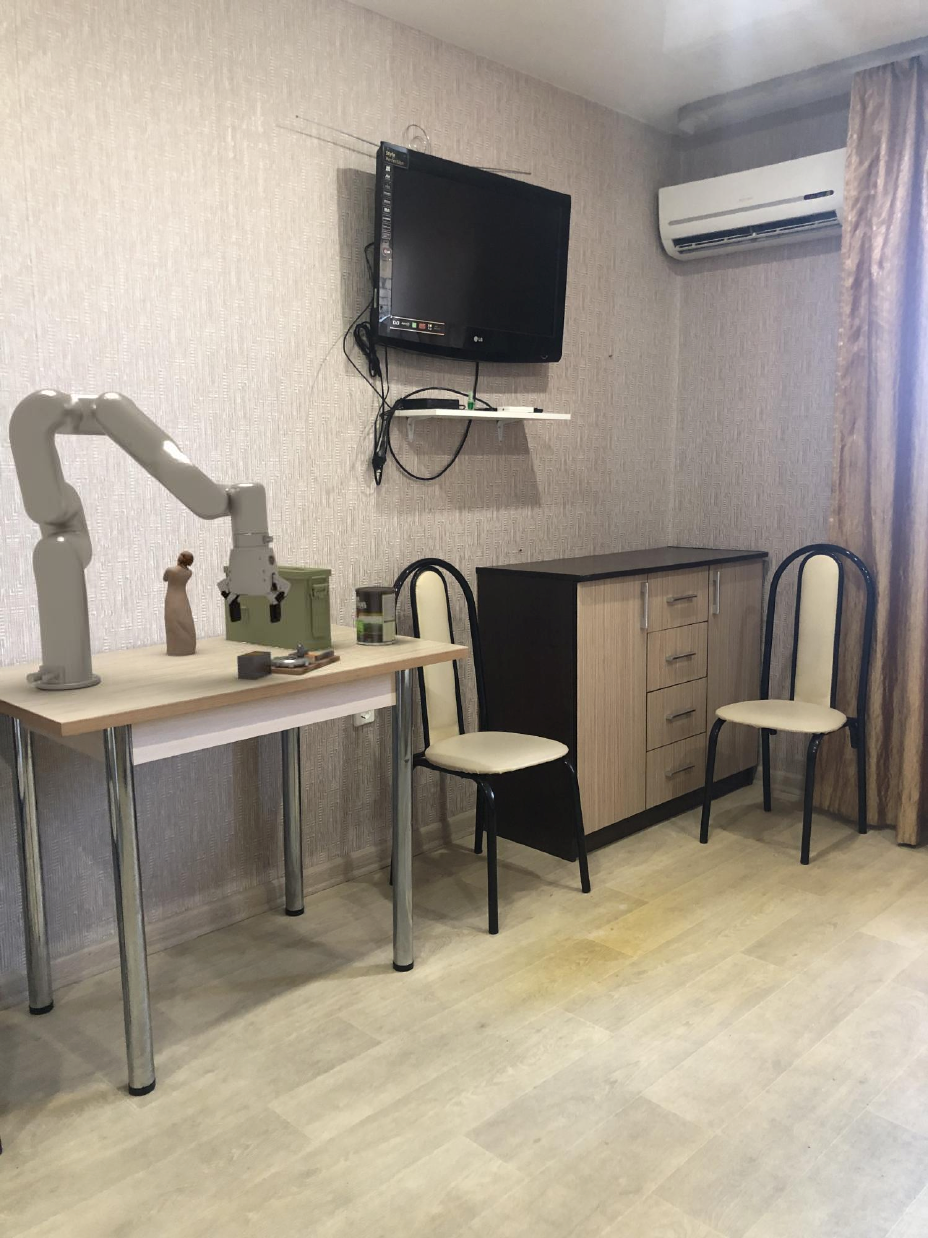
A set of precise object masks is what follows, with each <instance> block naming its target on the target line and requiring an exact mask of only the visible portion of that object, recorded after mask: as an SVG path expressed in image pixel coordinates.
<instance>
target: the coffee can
mask: <svg viewBox="0 0 928 1238" xmlns="http://www.w3.org/2000/svg"><path fill="white" fill-rule="evenodd" d="M354 592H355V614H356V615H355V617H356V618H355V619H356V620H355V621H356V624H355V625H356V626H355V627H356V642H357V643H358V644H357V643H356V644H357V645H360V644H366V645H365V646H369V645H382V646H384V645H383V644H390V645H393V644H392V643H394V644H396V643H397V642H396V588H395V587H392V586H363V587H362V586H361V587H357V588H355V589H354Z"/></svg>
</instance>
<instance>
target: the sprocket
mask: <svg viewBox="0 0 928 1238" xmlns="http://www.w3.org/2000/svg"><path fill="white" fill-rule="evenodd" d="M296 652H297V656H293V655H289V656H288V655H284V656H283V655H282V656H274V657H273V658H271V665H273V667H296V666H307V665H309V664H310V663H313V658H310V657H308V656H304V645H302V644H300V645H297V651H296Z"/></svg>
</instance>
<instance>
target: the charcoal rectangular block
mask: <svg viewBox="0 0 928 1238" xmlns="http://www.w3.org/2000/svg"><path fill="white" fill-rule="evenodd" d="M236 659H237V680H245V681H246V680H249V681H256V680H259V679H262V678H264V677H267V676H270V675H273V673H272V672H271V659H272V652H271V651H267V650H266V651H263V650H261V651H260V650H253V651H250V652H246V653H243V654H240V655H237V656H236ZM258 678H259V679H258Z"/></svg>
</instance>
